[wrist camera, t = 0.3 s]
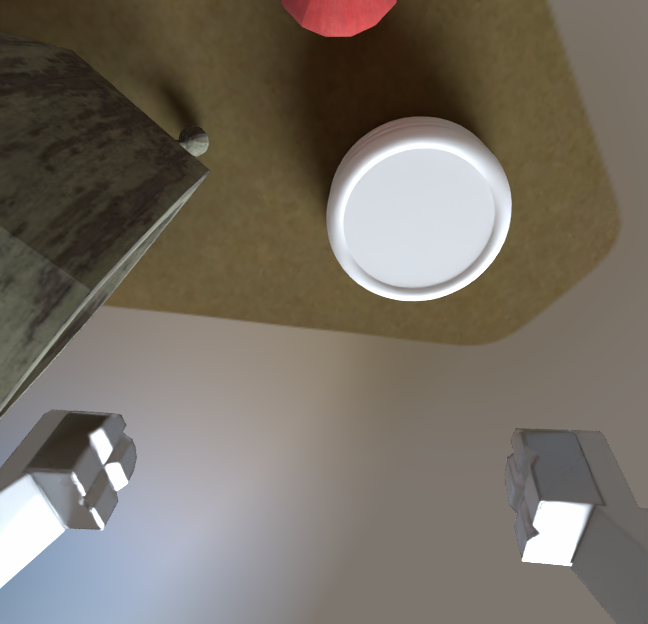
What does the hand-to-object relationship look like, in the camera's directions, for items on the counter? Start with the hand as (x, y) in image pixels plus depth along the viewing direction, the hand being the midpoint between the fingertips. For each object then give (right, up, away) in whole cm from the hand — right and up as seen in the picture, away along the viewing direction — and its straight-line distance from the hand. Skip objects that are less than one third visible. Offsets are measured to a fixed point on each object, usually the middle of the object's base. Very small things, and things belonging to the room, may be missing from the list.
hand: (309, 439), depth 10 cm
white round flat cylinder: (+6, +9, +19) cm, 22 cm away
